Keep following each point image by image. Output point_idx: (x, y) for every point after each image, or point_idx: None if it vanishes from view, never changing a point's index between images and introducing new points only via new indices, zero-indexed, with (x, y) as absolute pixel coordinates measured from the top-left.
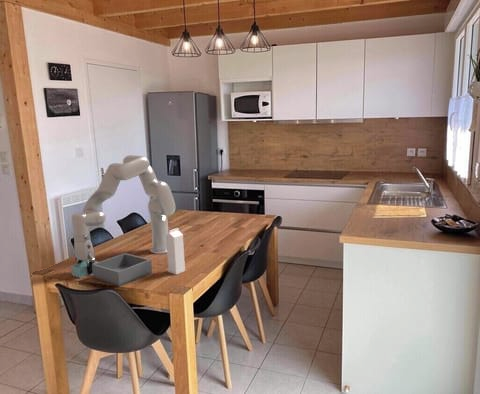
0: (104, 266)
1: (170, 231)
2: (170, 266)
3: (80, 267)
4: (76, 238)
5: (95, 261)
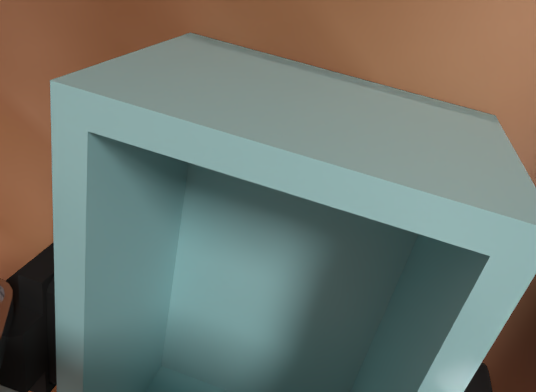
0: None
1: None
2: None
3: (135, 321)
4: None
5: (385, 206)
